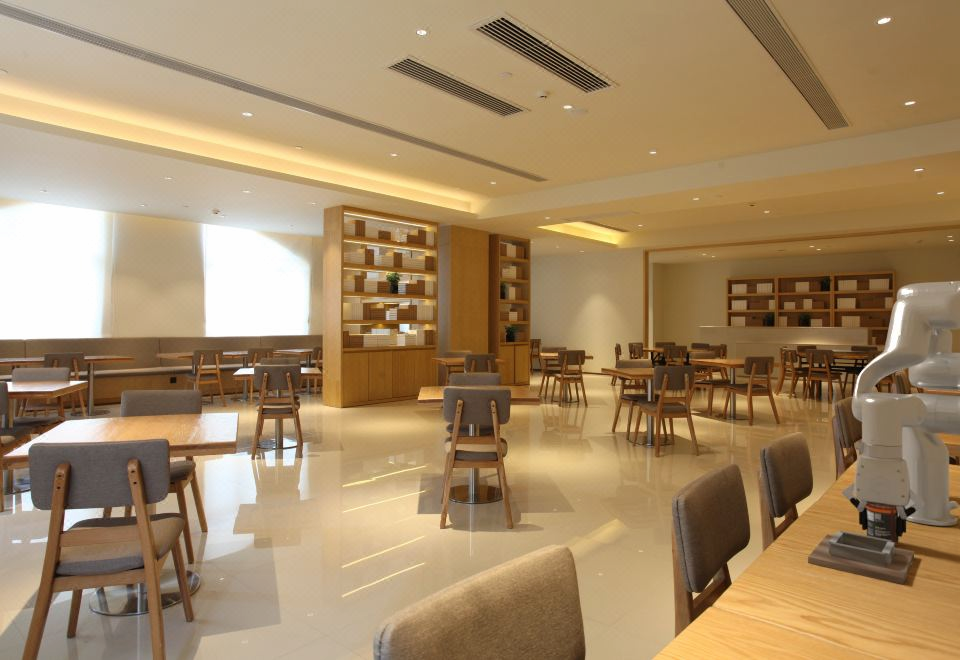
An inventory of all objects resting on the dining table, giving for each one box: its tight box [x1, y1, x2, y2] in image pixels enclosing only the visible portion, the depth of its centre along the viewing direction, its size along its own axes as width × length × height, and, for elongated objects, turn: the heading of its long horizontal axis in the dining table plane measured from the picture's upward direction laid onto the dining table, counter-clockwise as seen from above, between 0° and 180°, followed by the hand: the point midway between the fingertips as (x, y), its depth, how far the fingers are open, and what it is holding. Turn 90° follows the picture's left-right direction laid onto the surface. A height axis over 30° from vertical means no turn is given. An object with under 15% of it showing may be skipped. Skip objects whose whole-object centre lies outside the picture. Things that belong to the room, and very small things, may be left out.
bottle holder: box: [807, 530, 915, 585], centre depth 123 cm, size 18×16×4 cm
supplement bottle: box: [866, 502, 900, 547], centre depth 133 cm, size 6×6×11 cm
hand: (882, 531), depth 133 cm, fingers closed on supplement bottle, 5 cm apart
